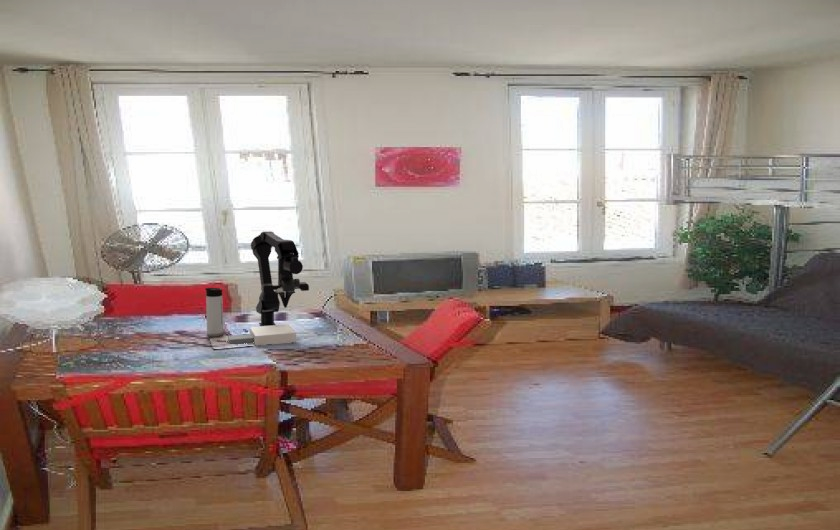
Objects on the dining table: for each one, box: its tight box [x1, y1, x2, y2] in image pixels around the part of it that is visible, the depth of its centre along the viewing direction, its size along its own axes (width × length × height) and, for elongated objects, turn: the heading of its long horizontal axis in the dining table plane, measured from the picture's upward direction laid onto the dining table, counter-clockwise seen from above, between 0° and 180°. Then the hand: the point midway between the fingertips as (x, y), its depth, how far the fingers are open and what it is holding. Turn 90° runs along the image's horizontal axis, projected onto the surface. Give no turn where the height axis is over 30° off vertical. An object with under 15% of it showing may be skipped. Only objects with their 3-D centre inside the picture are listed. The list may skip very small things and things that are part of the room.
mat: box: [209, 336, 255, 347], centre depth 208 cm, size 15×15×1 cm
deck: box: [249, 323, 297, 346], centre depth 215 cm, size 14×16×4 cm
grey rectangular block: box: [227, 333, 254, 344], centre depth 209 cm, size 9×6×2 cm, turn 115°
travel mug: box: [205, 287, 224, 337], centre depth 217 cm, size 6×7×20 cm
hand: (285, 307), depth 220 cm, fingers closed
